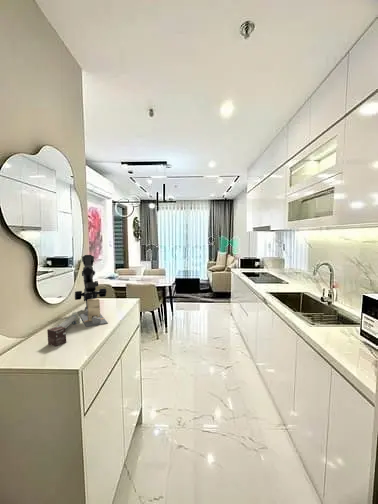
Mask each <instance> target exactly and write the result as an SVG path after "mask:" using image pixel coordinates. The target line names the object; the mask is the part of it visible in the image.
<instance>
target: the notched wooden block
mask: <svg viewBox="0 0 378 504" xmlns="http://www.w3.org/2000/svg"><path fill="white" fill-rule="evenodd" d="M100 304H101V303H100V299H99V298H98V297H97V298H96V299H88V300H87V308H88V320H89V321H92V316H97V317H100V314H101V305H100Z"/></svg>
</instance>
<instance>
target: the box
mask: <svg viewBox="0 0 378 504" xmlns="http://www.w3.org/2000/svg"><path fill="white" fill-rule="evenodd" d="M57 326H58V325H57ZM57 326H54V327H52V328H48V329H47V331H46V333H47V345H50V346H53V347H58V346H60V345H63V344H65V343H67V330H66V329H67V328H64V327H59V326H58V327H57Z"/></svg>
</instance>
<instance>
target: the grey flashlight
mask: <svg viewBox="0 0 378 504" xmlns="http://www.w3.org/2000/svg"><path fill="white" fill-rule="evenodd" d="M80 322H81V316H80V314H79V313H78V311H75V312H72V313H71V316H69V317H68V318H67V319H65V320H64V321H62V322H61V323H60V324H58V325H57V326H56V327H58V326H59V327H64V328H66V329H67V328H68V327H69V326H70V325H73V324H74V325H77V324H79V323H80Z"/></svg>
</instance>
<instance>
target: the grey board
mask: <svg viewBox="0 0 378 504" xmlns="http://www.w3.org/2000/svg"><path fill="white" fill-rule="evenodd" d="M79 316H80V319H81V320H82V322H83V323H84V325H85V327H86V328H88V327H94V326H101V325H106V324H109V322H108V321H107V320H106V319H105V318H104V316H103V315H102V314H101V313H100V317H97V316H92V321H89V320H88V309H86V308H85V313H80V314H79Z"/></svg>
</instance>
